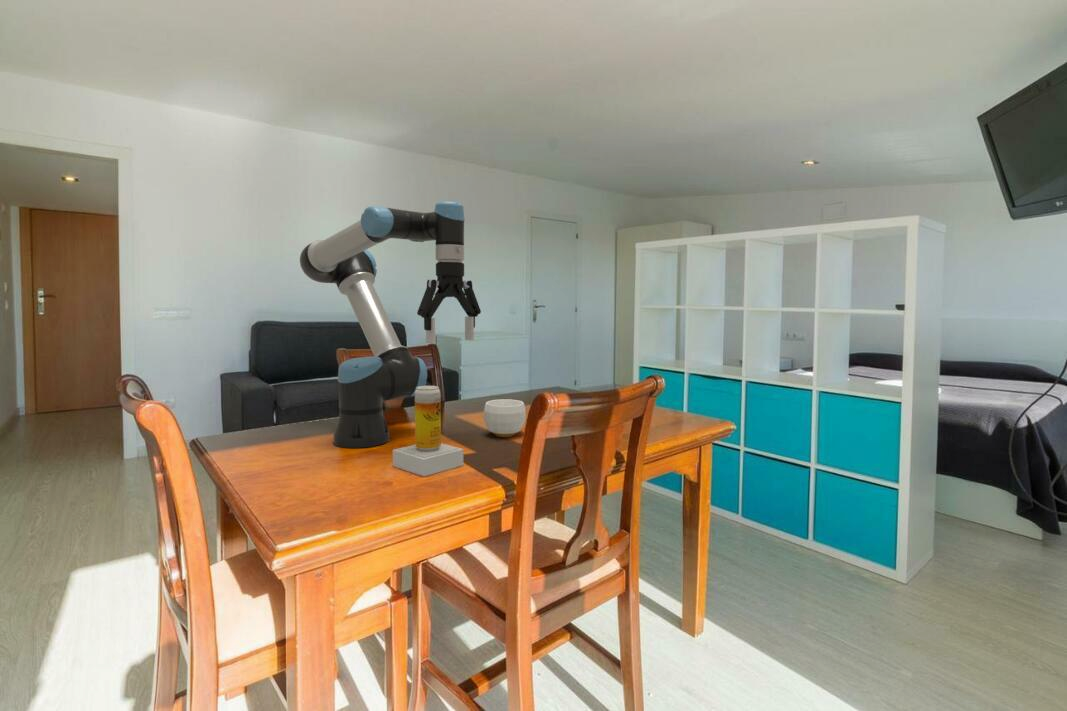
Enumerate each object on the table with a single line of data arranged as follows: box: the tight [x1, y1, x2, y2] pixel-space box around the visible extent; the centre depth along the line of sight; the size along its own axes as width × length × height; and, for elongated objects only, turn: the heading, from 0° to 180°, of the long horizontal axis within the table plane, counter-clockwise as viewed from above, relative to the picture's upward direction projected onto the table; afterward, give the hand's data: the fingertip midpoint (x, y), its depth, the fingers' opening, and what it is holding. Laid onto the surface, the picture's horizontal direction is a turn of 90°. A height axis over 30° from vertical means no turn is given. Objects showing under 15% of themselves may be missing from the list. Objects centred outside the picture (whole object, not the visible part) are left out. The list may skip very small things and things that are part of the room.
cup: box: [483, 398, 527, 438], centre depth 172 cm, size 12×12×10 cm
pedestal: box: [392, 442, 464, 478], centre depth 141 cm, size 12×12×4 cm
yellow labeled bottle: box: [414, 385, 442, 451], centre depth 140 cm, size 6×6×15 cm
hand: (450, 341), depth 157 cm, fingers open, 13 cm apart
